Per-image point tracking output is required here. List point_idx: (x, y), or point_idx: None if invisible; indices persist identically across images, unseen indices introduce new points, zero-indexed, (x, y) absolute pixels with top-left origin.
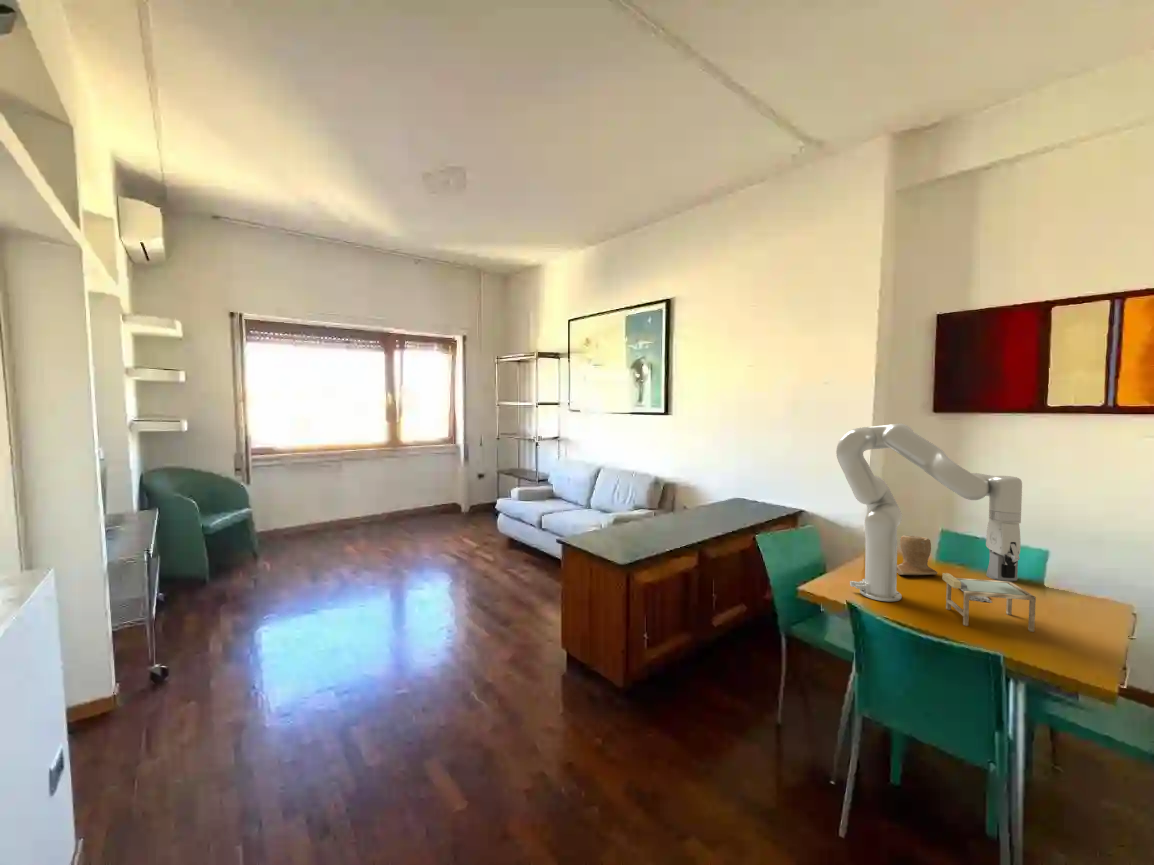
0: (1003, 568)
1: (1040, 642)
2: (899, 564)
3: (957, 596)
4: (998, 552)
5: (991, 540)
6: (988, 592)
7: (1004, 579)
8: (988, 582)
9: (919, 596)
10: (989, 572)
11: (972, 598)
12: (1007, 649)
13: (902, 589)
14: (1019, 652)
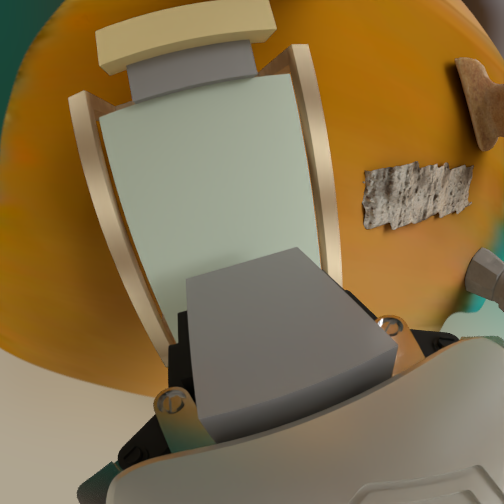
0: (182, 359)
1: (98, 292)
2: (486, 73)
3: (382, 147)
4: (166, 474)
5: (451, 496)
6: (123, 204)
7: (469, 274)
8: (302, 228)
9: (338, 37)
10: (296, 251)
11: (372, 181)
12: (10, 213)
13: (373, 18)
14: (10, 237)
